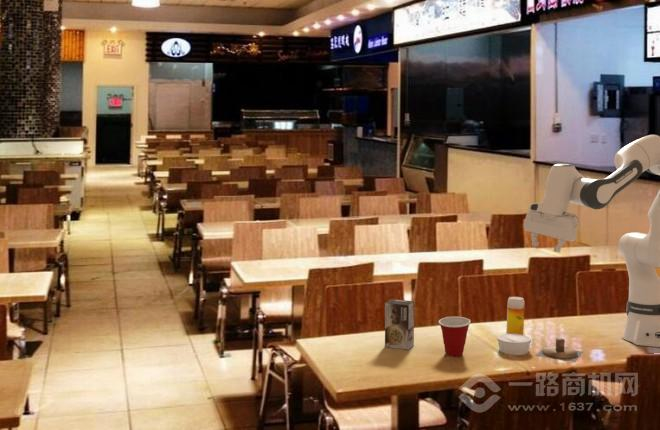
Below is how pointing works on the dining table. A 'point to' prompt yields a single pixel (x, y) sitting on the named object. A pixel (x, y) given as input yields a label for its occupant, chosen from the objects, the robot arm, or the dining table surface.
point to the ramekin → (514, 344)
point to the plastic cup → (454, 334)
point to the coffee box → (399, 324)
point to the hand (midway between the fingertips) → (545, 249)
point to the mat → (559, 358)
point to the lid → (559, 350)
